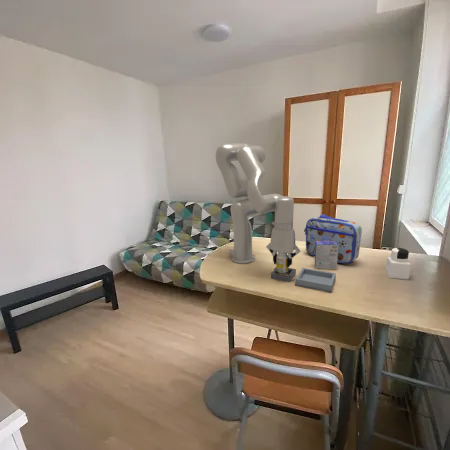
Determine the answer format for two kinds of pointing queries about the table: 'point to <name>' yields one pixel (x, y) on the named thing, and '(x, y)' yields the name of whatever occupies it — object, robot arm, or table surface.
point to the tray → (316, 279)
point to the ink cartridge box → (326, 254)
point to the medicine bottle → (398, 264)
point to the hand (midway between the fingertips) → (282, 264)
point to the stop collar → (281, 277)
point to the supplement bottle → (281, 262)
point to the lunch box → (334, 236)
